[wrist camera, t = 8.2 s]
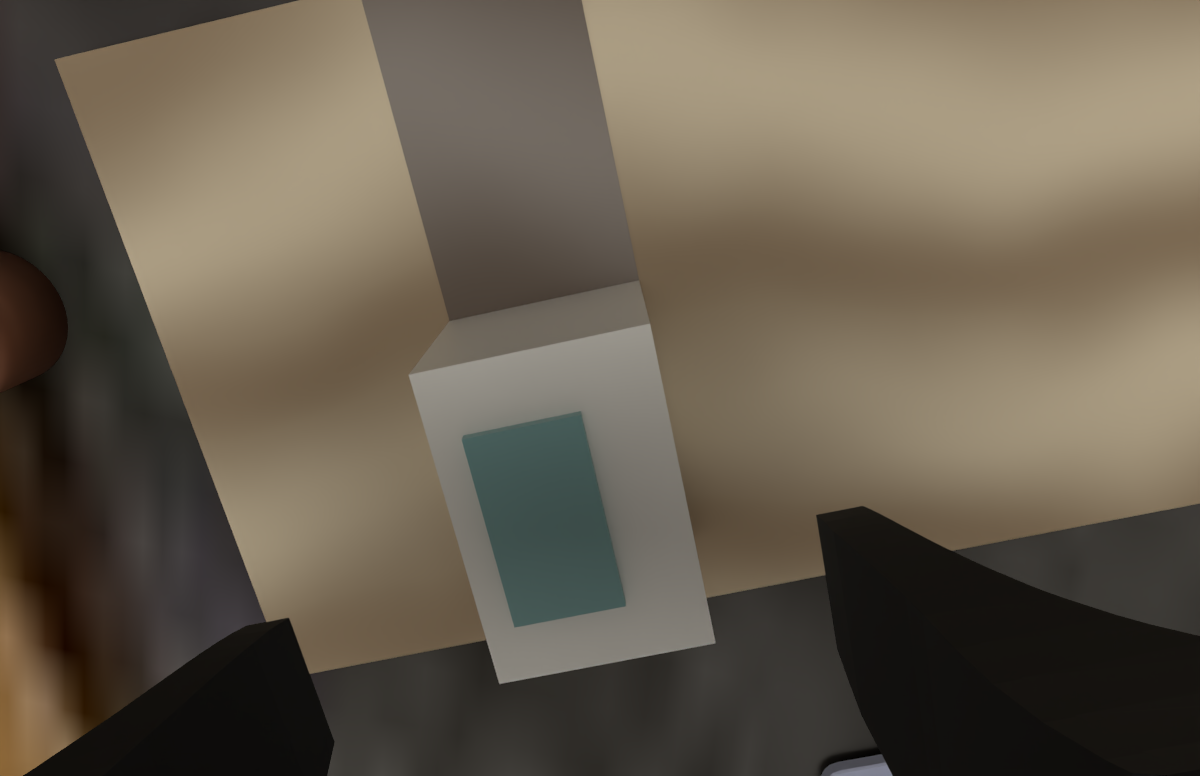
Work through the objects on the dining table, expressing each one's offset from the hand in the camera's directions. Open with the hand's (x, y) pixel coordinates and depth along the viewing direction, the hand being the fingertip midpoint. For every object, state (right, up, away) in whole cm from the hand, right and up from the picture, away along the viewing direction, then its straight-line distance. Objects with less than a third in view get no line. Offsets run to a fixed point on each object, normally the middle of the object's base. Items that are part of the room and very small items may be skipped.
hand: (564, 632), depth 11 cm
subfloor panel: (+2, +6, +7) cm, 10 cm away
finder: (0, +2, +7) cm, 8 cm away
